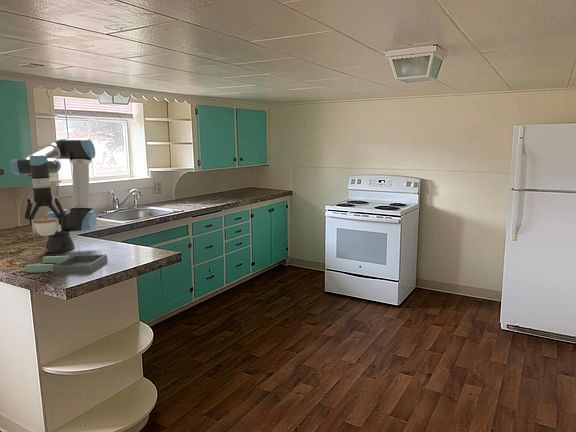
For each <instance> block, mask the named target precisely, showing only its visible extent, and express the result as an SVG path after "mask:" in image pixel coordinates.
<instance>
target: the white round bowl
mask: <svg viewBox="0 0 576 432" xmlns="http://www.w3.org/2000/svg"><path fill="white" fill-rule="evenodd" d="M34 219H35V220H33V222H34V227H35V230H36V233H37V234H38V235H40V236H41V237H47V236H49V235H54V234H55V232H56V231H57V222H56V219H57V218H56V217H49V218H47V216H45V215H44V217H42V218H40V217H39V218H34Z"/></svg>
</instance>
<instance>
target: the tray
mask: <svg viewBox="0 0 576 432" xmlns="http://www.w3.org/2000/svg"><path fill="white" fill-rule="evenodd" d="M107 255H108V254H106V253H105V254H83V255H80V254H79V255H78V254H76V255H72V256H70V258H68V259H66V260H64V261H62V262H61V263H56V264H54V265H55V266H53V272H52V273H53V276H67V275H90V274H92V273H93V272H95V271H96V270H98V269H99V268H102V266H104V265H106V264H107V263H108V256H107Z"/></svg>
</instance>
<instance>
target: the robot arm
mask: <svg viewBox="0 0 576 432" xmlns="http://www.w3.org/2000/svg"><path fill="white" fill-rule="evenodd" d="M95 157H96V148H95V145H94V143H93V141H92V140H91V139H90V138H84V137H80V138H62V139H58V140H57V139H56V140H55V141H51V142H49V143H47V144H46V145H45V144H44V146H43V148H41V149H40V150H38V151H35V152H33V153H31V154H29V155H26V156H25V157H23V158H21V159H18V158H17V159H11V160H10V162H9V164H8V165H9V171H10V173H12V174H13V175H19V176H21V175H31V183H32V187H33V190H32V191H33V196H34V197H33V198H28V199H27V204H26V205H27V206H26V211H25V214H24V219H26V220H29V226H30V227H32V233H33V234H36V233H37V232H36V230H35V227H34V222H33V220H35V219H36V218H35V217H36V215H37V213H38V211H39V209H40V208H41V207H48V208H49V209H50V210H51V211H48V212H46V213H45V215H44V216H47V218H49V217H56V218H57V219H56V222H57V231H56V232H55V234H54V235H49V236H46V237H47V240H46V244H45V253H48V252H50V253H51V254H52V253H53V254H57V253H65V252H69V251H73V250H74V249H75V248H76V246H75V242H74V241H73V238H72V237H71V233H73V232H89V231H92V230H94V228H95V226H96V223H97V213H96V211H94V210H93V207H92V206H91V205H90V164H91V163H92V159H94V158H95ZM59 160H69V163H71V165H72V206H71V207H70V208H69V211H68V209H67V208H63V206H62V204H61V201H60V197H58V196H57V197H53V196H52V188H51V187H50V186H51V179H50V174H55V173H58V172H59V171H60V170H61V168H62V164H61V162H60V161H59ZM53 202H54V203H55V206H56V207H55V206H54V203H53ZM33 203H35V205H34V208H33ZM32 208H33V210H32ZM50 253H49V254H50Z"/></svg>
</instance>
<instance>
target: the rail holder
mask: <svg viewBox="0 0 576 432" xmlns="http://www.w3.org/2000/svg"><path fill="white" fill-rule="evenodd" d="M70 257H71V256H70V255H55V256H53V255H52V256H50V255H49V256H48V255H47V256H43V257H42V263H41V264H39V263H38V264H26V265H25V271H26V272H30V273H48V272H47V271H51V272H52V273H53V266H55V265H56V264H59V263H61V262H62V261H64V260H66V259H68V258H70ZM43 263H55V264H43ZM26 272H25V273H26ZM51 272H50V273H51Z"/></svg>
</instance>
